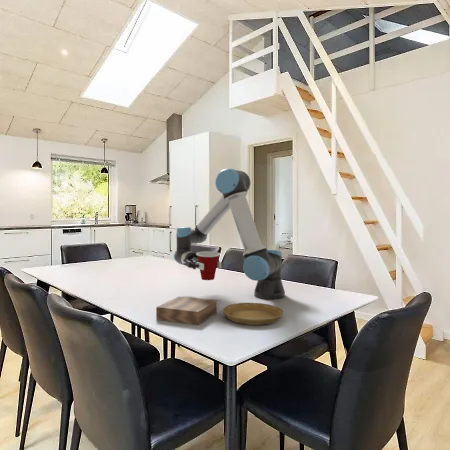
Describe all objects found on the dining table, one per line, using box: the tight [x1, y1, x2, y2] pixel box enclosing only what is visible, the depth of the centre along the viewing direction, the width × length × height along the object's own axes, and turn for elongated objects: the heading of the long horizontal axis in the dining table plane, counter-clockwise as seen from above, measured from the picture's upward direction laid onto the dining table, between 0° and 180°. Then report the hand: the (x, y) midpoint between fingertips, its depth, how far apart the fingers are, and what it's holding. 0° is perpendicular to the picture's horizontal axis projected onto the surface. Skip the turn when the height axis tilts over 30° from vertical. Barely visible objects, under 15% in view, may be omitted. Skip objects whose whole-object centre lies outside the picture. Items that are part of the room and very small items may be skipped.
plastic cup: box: [195, 250, 221, 281], centre depth 165 cm, size 11×11×12 cm
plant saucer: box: [222, 302, 284, 326], centre depth 146 cm, size 24×24×3 cm
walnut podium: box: [155, 296, 218, 326], centre depth 148 cm, size 18×18×5 cm
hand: (211, 266), depth 160 cm, fingers closed on plastic cup, 8 cm apart
